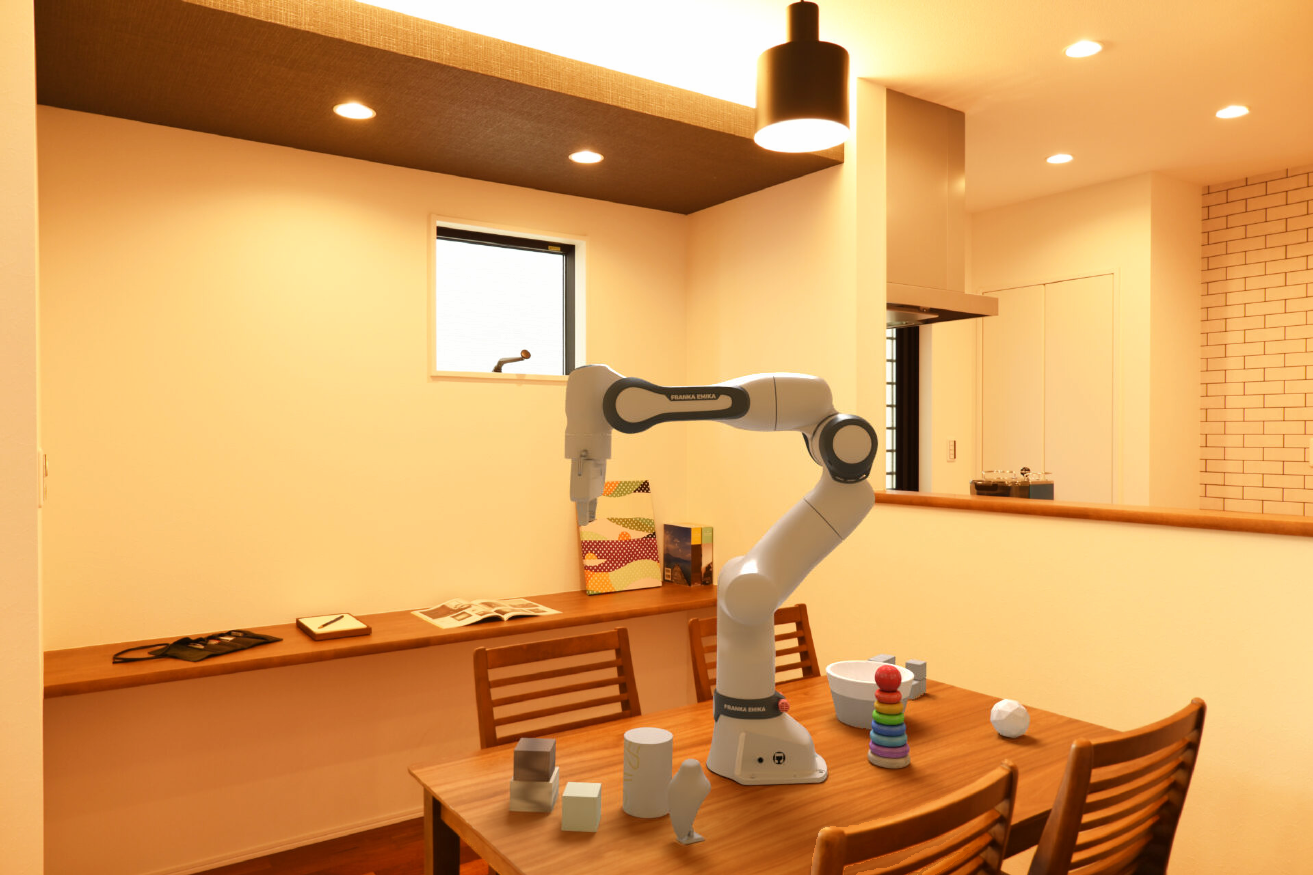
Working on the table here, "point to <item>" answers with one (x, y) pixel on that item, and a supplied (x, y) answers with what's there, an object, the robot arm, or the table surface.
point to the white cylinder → (647, 772)
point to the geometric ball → (1010, 718)
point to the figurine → (687, 799)
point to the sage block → (581, 807)
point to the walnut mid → (534, 759)
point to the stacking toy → (888, 722)
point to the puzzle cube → (914, 666)
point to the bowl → (860, 690)
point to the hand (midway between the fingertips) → (587, 523)
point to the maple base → (534, 794)
